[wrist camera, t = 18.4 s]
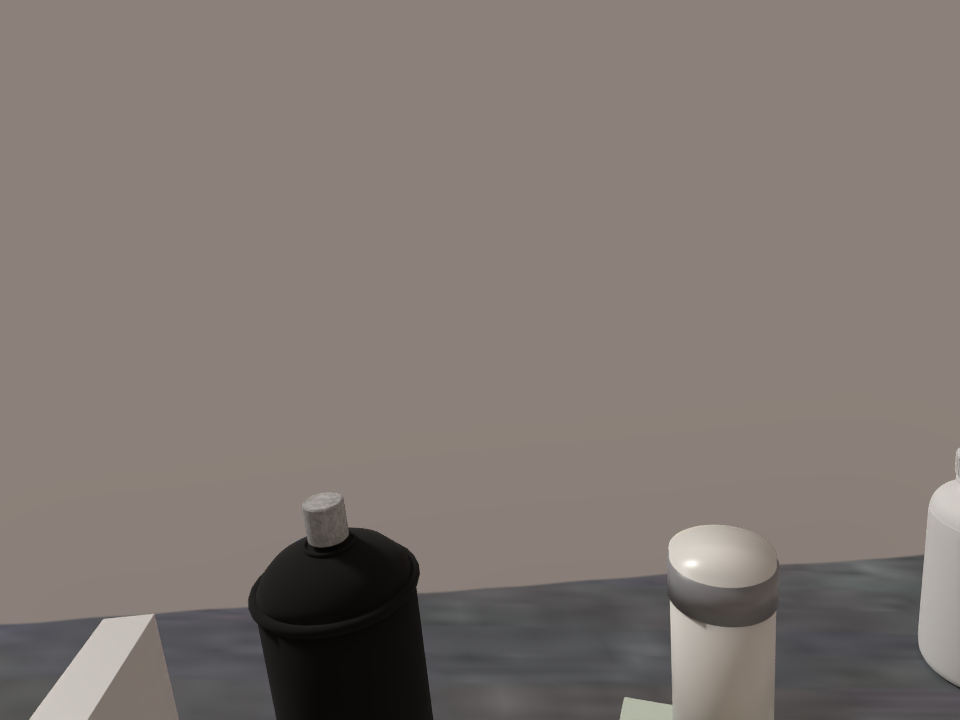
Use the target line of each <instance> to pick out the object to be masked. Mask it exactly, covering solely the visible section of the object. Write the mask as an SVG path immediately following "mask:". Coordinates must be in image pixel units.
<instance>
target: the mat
mask: <svg viewBox="0 0 960 720" xmlns="http://www.w3.org/2000/svg"><path fill="white" fill-rule="evenodd" d="M620 720H673V705H668V704H662V703H656V702H650V701H644V700H638V699H632V698H626V697H624V701H623V706H622V711H621V716H620Z"/></svg>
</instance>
